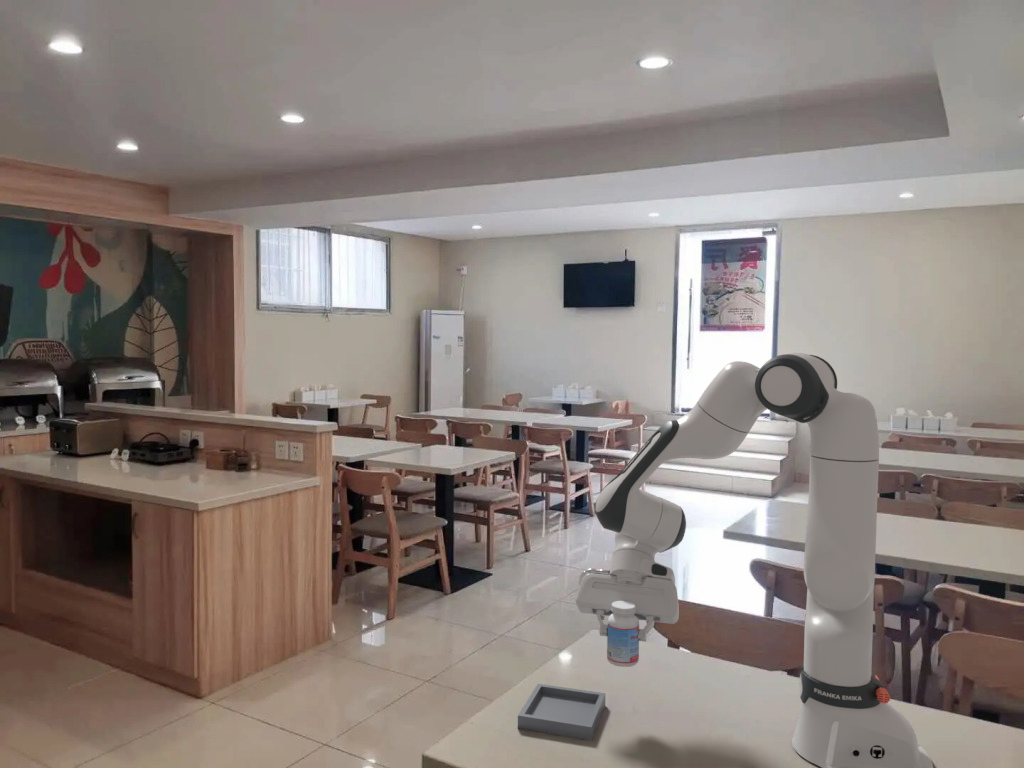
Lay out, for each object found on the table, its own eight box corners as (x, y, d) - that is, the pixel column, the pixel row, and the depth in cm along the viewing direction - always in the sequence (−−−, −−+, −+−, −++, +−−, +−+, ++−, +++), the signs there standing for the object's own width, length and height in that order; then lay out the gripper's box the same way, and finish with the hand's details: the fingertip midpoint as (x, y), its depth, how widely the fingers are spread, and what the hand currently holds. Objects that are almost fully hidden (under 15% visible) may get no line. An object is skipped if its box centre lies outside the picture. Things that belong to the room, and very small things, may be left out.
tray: (605, 705, 152) (605, 693, 152) (591, 740, 138) (591, 727, 138) (537, 695, 156) (537, 683, 156) (517, 728, 143) (517, 715, 142)
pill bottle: (638, 669, 144) (639, 611, 143) (605, 666, 145) (606, 608, 144) (639, 656, 150) (640, 600, 149) (608, 653, 151) (609, 598, 150)
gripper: (579, 560, 156) (567, 623, 147) (680, 570, 150) (674, 637, 141) (583, 575, 160) (572, 637, 152) (682, 585, 154) (676, 651, 146)
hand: (622, 637), depth 146 cm, fingers closed on pill bottle, 6 cm apart
